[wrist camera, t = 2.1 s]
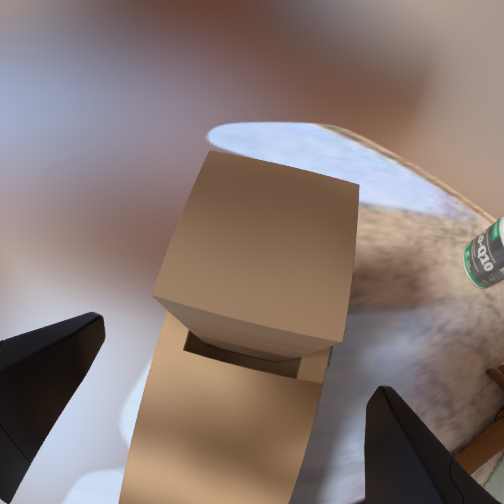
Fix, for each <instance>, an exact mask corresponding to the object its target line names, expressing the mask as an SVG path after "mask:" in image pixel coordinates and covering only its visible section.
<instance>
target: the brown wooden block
mask: <svg viewBox="0 0 504 504" xmlns="http://www.w3.org/2000/svg"><path fill="white" fill-rule="evenodd" d="M358 204H359V185H358V184H355V183H351V182H348V181H344V180H341V179H337V178H333V177H330V176H326V175H322V174H318V173H314V172H310V171H306V170H302V169H298V168H294V167H290V166H285V165H281V164H276V163H272V162H267V161H263V160H258V159H253V158H248V157H243V156H238V155H232V154H227V153H221V152H215V151H209V153H208V155H207V157H206V159H205V161H204V164H203V166H202V168H201V170H200V173H199V175H198V177H197V179H196V182H195V184H194V186H193V189H192V191H191V193H190V195H189V198H188V200H187V203H186V205H185V207H184V210H183V212H182V215H181V217H180V220H179V222H178V224H177V227H176V229H175V232H174V234H173V237H172V239H171V242H170V245H169V247H168V250H167V252H166V255H165V258H164V261H163V263H162V266H161V269H160V272H159V274H158V277H157V280H156V283H155V286H154V288H153V291H152V294H151V295H152V296H153V297H154V298H155V299H156V300H157V301H158V302H159V303H160V304H162V305H163V306H164V307H165V308H166V309H167V310H168V311H169V312H170V313H171V314H172V315H173V316H174V317H175V318H177V319H178V320H179V321H180V322H181V323H182V324H183V325H184V326H185V327H187V328H188V329H189V330H190V331H191V332H192V333H193V334H195V335H196V336H197V337H198V338H199V339H200V340H201V341H203V342H204V343H205V344H206V345H207V346H210V347H214V348H217V349H221V350H225V351H229V352H232V353H236V354H240V355H244V356H248V357H252V358H257V359H261V360H265V361H270V362H274V363H281V362H285V361H288V360H291V359H295V358H298V357H301V356H304V355H307V354H310V353H314V352H317V351H320V350H322V349H325V348H328V347H331V346H334V345H337V344H340V343H342V342H343V337H344V331H345V325H346V318H347V312H348V305H349V298H350V290H351V282H352V274H353V265H354V256H355V245H356V233H357V220H358Z"/></svg>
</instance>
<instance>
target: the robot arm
mask: <svg viewBox="0 0 504 504" xmlns="http://www.w3.org/2000/svg"><path fill="white" fill-rule="evenodd" d="M104 340H105V327H104V318H103V317H102V315H100V314H97V313H95V312H89V313H86V314H83V315H80V316H77V317H74V318H71V319H68V320H64V321H61V322H58V323H55V324H52V325H49V326H46V327H43V328H39V329H36V330H33V331H30V332H27V333H24V334H21V335H18V336H14V337H11V338H8V339H5V341H4V340H2V341H0V499H1V500H2V501H4V502H5V503H7V504H10V502H11V501H12V499H13V497H14V495H15V493H16V491H17V489H18V487H19V485H20V483H21V482H22V480H23V478H24V476H25V474H26V472H27V471H28V469H29V467H30V465H31V463H32V461H33V459H34V458H35V456H36V454H37V452H38V451H39V449H40V447H41V446H42V444H43V442H44V441H45V439H46V437H47V436H48V434H49V432H50V430H51V429H52V427H53V426H54V424H55V422H56V421H57V419H58V417H59V416H60V415H61V413H62V411H63V410H64V408H65V407H66V405H67V403H68V402H69V400H70V399H71V397H72V396H73V394H74V393H75V391H76V389H77V388H78V387H79V385H80V384H81V382H82V381H83V379H84V378H85V376H86V374H87V373H88V371H89V369H90V367H91V365H92V363H93V361H94V359H95V357H96V356H97V353H98V352H99V350H100V348H101V346H102V344H103V343H104ZM364 454H365V504H502V503H500V502H498V501H497V500H496V499H494V498H493V497H492V496H491V495H490V494H489V493H488V492H487V491H486V490H485V489H484V488H483V487H482V486H481V485H479V484H478V483H477V482H476V481H475V480H474V479H473V478H472V477H471V476H470V475H469V474H468V473H467V472H466V471H465V469H464V468H463V467H462V466H461V465H460V464H459V463H458V462H457V461H456V459H455V458H454V457H453V456H452V455H451V454H450V453H449V451H448V450H447V449H446V448H445V447H444V446H443V444H442V443H441V442H440V441H439V440H438V439H437V438H436V436H435V435H434V434H433V433H432V432H431V431H430V430H429V428H428V427H427V426H426V425H425V424H424V423H423V422H422V421H421V419H420V418H419V417H418V416H417V415H416V414H415V413H414V411H413V410H412V409H411V408H410V407H409V406H408V405H407V404H406V402H405V401H404V400H403V399H402V398H401V397H400V396H399V395H398V393H397V392H396V391H395V390H394V389H393V388H392V387H390V386H379V387H378V388H377V390H376V391H375V393H374V394H373V395H372V397H371V398H370V400H369V401H368V404H367V408H366V428H365V444H364ZM451 456H452V457H451Z"/></svg>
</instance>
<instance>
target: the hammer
mask: <svg viewBox="0 0 504 504" xmlns="http://www.w3.org/2000/svg"><path fill="white" fill-rule="evenodd" d="M498 370H499V371H500V372H502V373H503V374H504V365H502V366H499V367H498ZM486 374H487V375H489V376H490V377H491V378H493V379H494V380H495V381H496V382H497V383H498V384H499V385H500V386H501V387H502V388H503V389H504V375H503V374H501V373H499V372H498V371H496V370H494V369H492V368H491V369H488V370H486ZM503 448H504V409H503V410H502V411H501V412H500V413H499V414H498V415H497V417H496V422H495V423H493V424H492V425H490V426H489V427H488V428H487V429H486V430H485V431H484V432H483V433H482V434H481V435H480V436H479V437H478V438H477V439H476V440H475V441H474V442H473V443H471V444H470V445H469V446H468V447H467V448H466V449H464V450H463V451H461V452H460V453H458V454H457V455H456V456H454V458H455V459H456V461H457V462H458V463H459V464H460V465H461V466H462V467H463V468H464V469H465V471H466V472H467V473H468V474H469V475H471V474H472V473H474V472H475V471H476V470H477V469H478V468H479V467H480V466H482V465H483V464H484V463H486V462H487V461H488V460H489V459H490V458H492V457H493V456H494V455H495V454H497V453H498V452H499V451H500V450H502V449H503Z"/></svg>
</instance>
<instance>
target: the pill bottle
mask: <svg viewBox="0 0 504 504" xmlns="http://www.w3.org/2000/svg"><path fill="white" fill-rule="evenodd" d="M462 260H463V267H464V270H465V273H466V275H467V277H468V278H469V280H470V281H471V282H472V283H473V284H474V285H475V286H477V287H478V288H487V287H489V286H492V285H494V284H496V283H497V282H499V281H501V280H503V279H504V216H503V217H501V218H500V219H499V220H498V221H496V222H495V223H494V224H493V225H492V226H490V227H489V228H488V229H486V230H485V231H484V232H483V233H482V234H480V235H479V236H478V237H476V238H475V239H474V240H472V241H471V242H470V243H469V244H467V245H466V247H465V248H464V251H463V257H462Z"/></svg>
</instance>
